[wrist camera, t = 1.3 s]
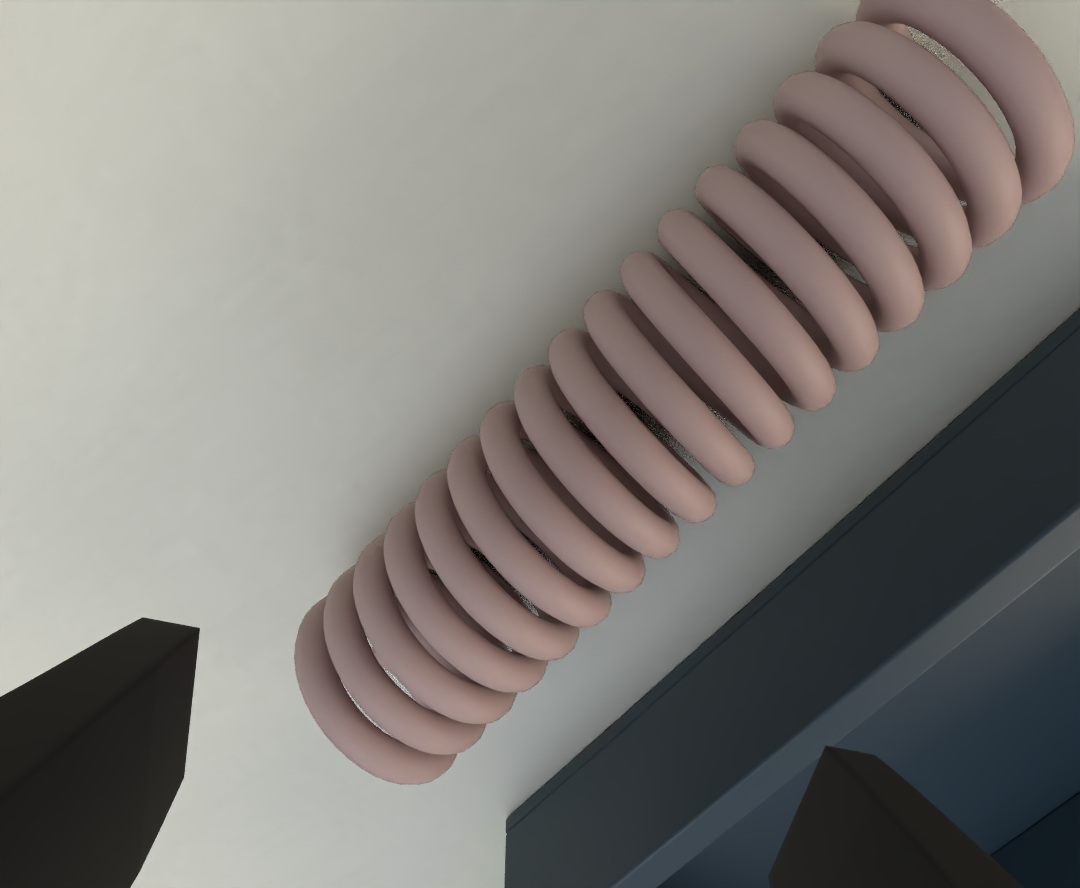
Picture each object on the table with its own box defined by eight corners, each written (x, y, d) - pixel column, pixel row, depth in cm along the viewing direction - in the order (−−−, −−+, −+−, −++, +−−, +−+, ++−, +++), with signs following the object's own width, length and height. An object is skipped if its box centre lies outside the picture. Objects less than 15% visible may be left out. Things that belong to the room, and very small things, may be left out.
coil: (436, 841, 16) (1177, 150, 12) (241, 738, 14) (1013, -100, 10) (441, 688, 20) (985, 142, 16) (292, 597, 19) (849, -33, 14)
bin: (1437, 539, 19) (1701, 642, 15) (780, 1008, 24) (835, 1186, 20) (1185, 213, 16) (1420, 224, 12) (505, 818, 21) (500, 978, 17)
